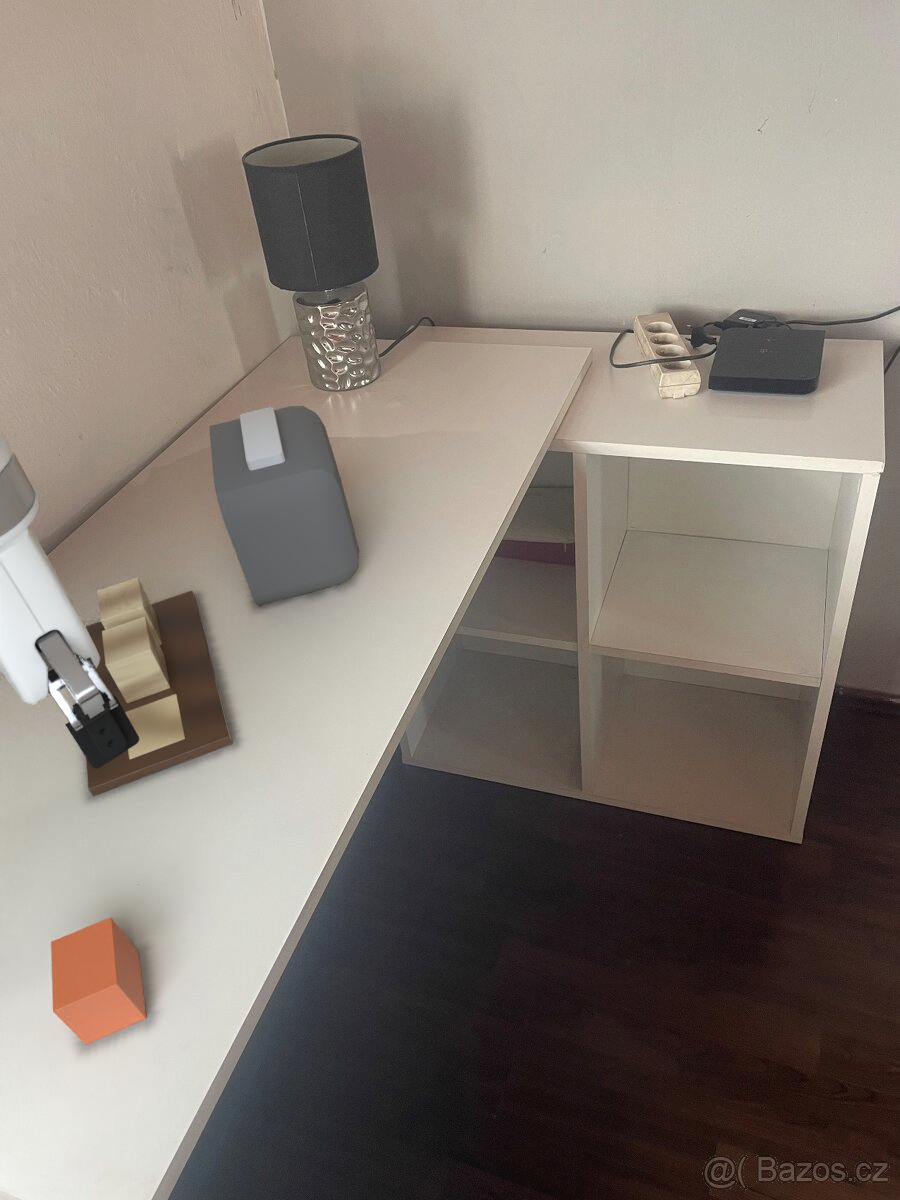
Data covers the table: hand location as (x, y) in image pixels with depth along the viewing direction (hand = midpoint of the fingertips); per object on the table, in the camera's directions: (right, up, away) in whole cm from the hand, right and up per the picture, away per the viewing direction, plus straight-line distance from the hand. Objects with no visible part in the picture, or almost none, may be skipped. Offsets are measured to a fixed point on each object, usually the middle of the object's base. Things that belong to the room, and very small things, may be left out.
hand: (86, 714), depth 58 cm
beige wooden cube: (-6, +4, +28) cm, 29 cm away
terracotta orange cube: (+1, -19, +1) cm, 19 cm away
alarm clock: (+9, +12, +36) cm, 39 cm away
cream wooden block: (-4, 0, +23) cm, 23 cm away
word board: (-4, 0, +24) cm, 24 cm away
